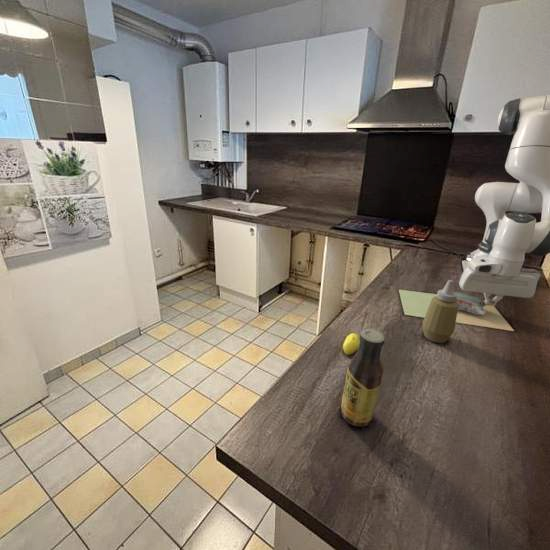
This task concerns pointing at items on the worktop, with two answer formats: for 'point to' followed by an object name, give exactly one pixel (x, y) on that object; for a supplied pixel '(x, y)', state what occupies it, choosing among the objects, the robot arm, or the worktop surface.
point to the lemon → (351, 343)
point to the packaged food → (470, 303)
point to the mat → (491, 318)
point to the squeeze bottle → (441, 315)
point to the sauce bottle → (363, 380)
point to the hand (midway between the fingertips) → (489, 305)
